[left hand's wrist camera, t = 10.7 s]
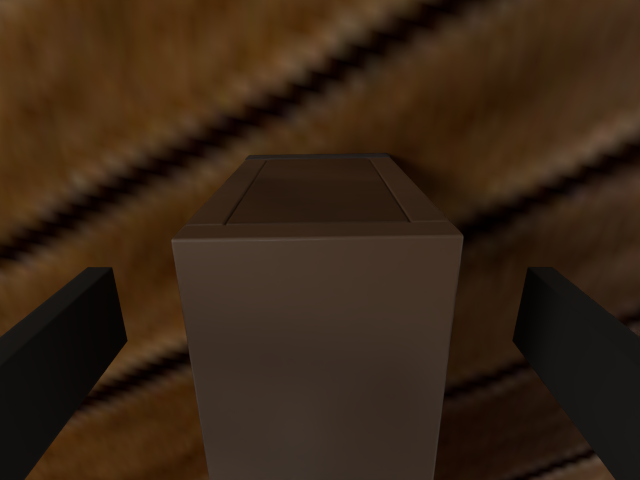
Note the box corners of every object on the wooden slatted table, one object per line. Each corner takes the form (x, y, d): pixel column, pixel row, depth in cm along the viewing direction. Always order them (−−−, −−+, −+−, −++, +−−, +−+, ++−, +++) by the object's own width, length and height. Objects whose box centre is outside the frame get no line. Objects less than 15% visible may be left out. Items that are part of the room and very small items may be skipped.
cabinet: (370, 511, 25) (399, 753, 16) (276, 512, 25) (252, 755, 16) (387, 153, 17) (466, 234, 8) (248, 155, 17) (169, 238, 8)
